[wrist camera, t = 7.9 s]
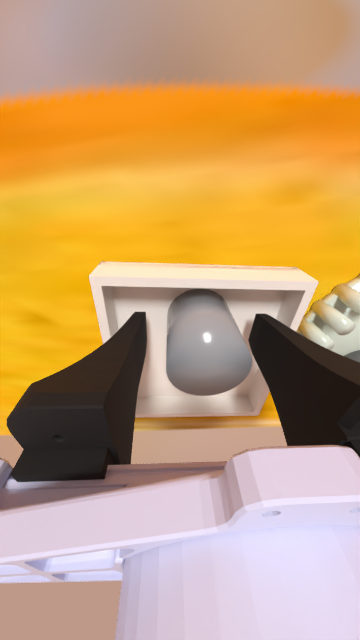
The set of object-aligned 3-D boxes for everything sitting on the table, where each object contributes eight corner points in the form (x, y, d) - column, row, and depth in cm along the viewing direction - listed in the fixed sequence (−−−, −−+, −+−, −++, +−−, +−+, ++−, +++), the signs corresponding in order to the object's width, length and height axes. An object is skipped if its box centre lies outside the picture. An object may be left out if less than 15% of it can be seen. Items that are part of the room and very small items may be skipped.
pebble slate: (240, 303, 13) (270, 353, 9) (208, 347, 15) (221, 403, 11) (184, 277, 12) (192, 322, 8) (157, 328, 14) (152, 383, 10)
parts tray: (296, 267, 12) (318, 281, 10) (249, 393, 19) (258, 415, 17) (101, 261, 12) (88, 275, 10) (124, 394, 18) (119, 417, 16)
